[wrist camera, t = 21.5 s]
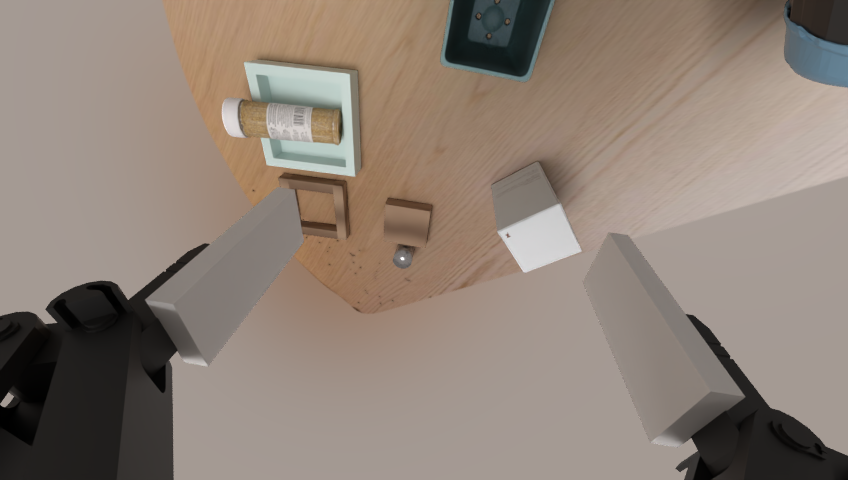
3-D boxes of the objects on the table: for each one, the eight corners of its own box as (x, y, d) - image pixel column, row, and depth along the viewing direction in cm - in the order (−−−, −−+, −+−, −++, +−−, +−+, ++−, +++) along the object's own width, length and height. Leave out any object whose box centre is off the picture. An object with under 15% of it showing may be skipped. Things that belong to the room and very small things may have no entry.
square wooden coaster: (388, 196, 49) (385, 204, 47) (432, 203, 49) (430, 211, 47) (386, 232, 53) (383, 241, 51) (427, 239, 53) (425, 248, 51)
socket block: (283, 173, 49) (278, 177, 47) (346, 181, 48) (342, 186, 47) (294, 226, 55) (289, 232, 53) (349, 234, 54) (346, 240, 53)
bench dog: (398, 238, 53) (393, 252, 50) (415, 241, 53) (411, 255, 50) (397, 252, 55) (392, 267, 52) (414, 254, 55) (410, 269, 52)
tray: (258, 59, 40) (243, 61, 37) (357, 70, 39) (349, 73, 36) (277, 157, 47) (266, 165, 45) (361, 168, 47) (354, 176, 44)
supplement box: (511, 221, 49) (522, 275, 38) (490, 184, 45) (495, 231, 35) (558, 201, 46) (584, 253, 35) (539, 159, 43) (560, 202, 32)
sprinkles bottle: (343, 113, 42) (236, 102, 40) (339, 105, 38) (219, 92, 36) (342, 148, 43) (237, 138, 41) (338, 144, 39) (220, 133, 37)
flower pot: (445, 57, 37) (438, 66, 30) (461, -41, 32) (458, -59, 25) (517, 71, 37) (529, 83, 30) (546, -25, 32) (568, -39, 24)
